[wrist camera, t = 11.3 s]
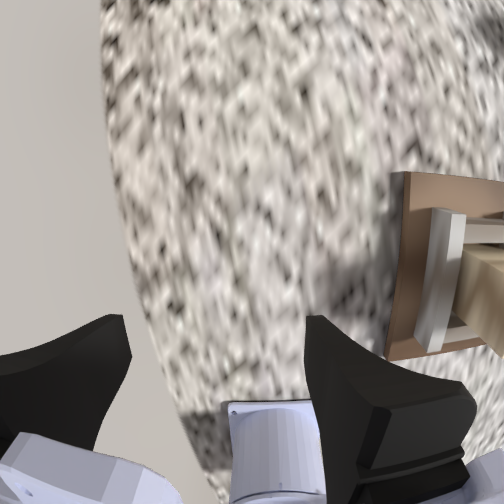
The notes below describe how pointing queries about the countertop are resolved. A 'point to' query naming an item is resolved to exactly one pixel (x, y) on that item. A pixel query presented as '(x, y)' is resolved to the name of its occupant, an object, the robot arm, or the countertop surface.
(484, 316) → the birch peg
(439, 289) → the socket board
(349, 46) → the countertop surface
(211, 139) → the countertop surface
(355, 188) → the countertop surface
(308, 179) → the countertop surface
